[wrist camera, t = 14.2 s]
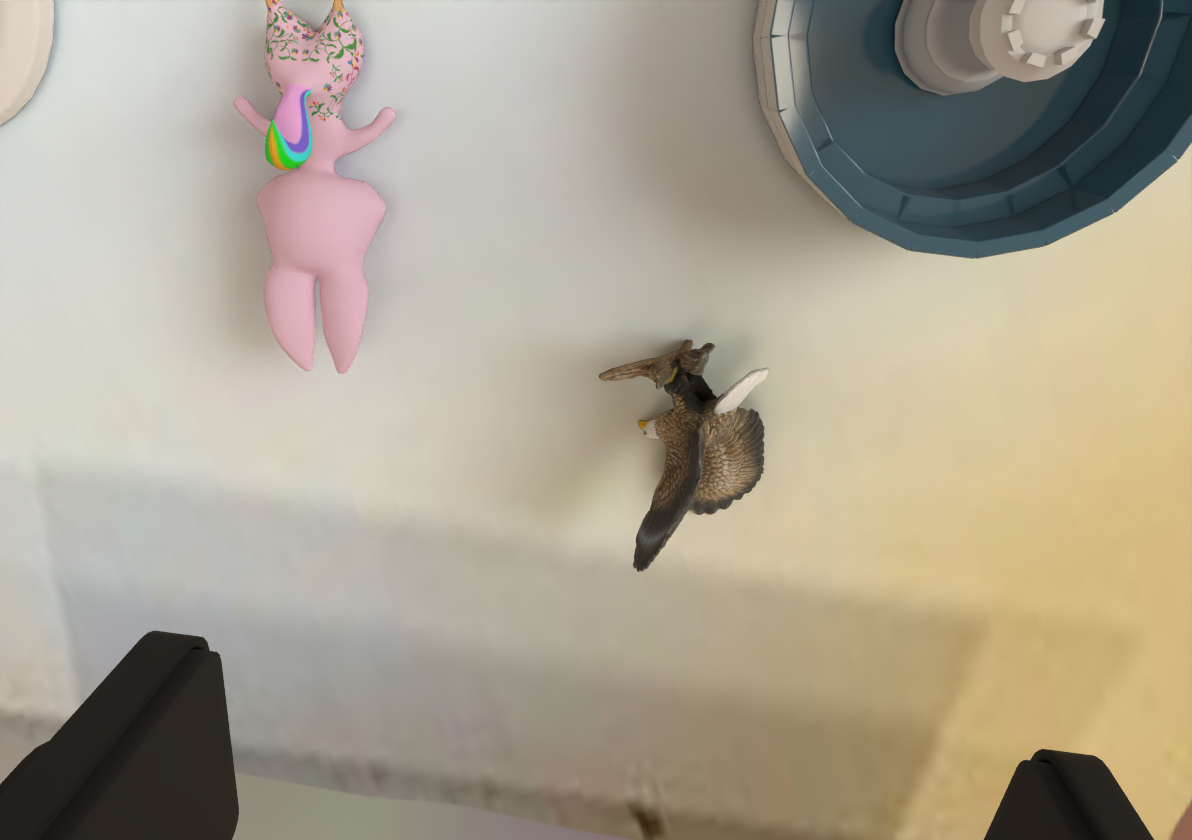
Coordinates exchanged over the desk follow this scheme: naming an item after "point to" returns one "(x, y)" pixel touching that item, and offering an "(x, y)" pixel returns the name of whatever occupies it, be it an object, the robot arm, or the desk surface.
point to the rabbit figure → (315, 185)
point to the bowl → (973, 126)
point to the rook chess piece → (991, 40)
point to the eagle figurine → (696, 443)
